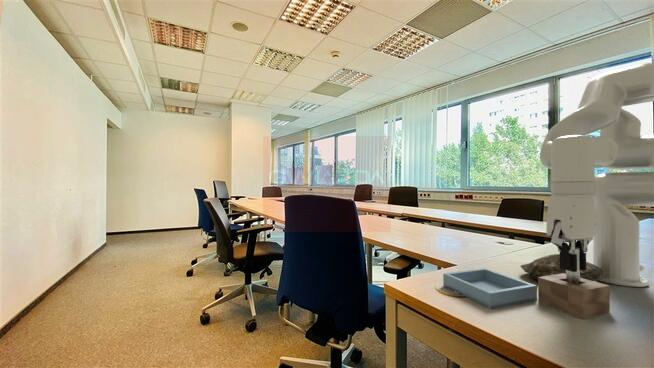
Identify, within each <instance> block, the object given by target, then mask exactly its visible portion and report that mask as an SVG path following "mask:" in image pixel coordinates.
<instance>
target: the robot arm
mask: <svg viewBox="0 0 654 368" xmlns="http://www.w3.org/2000/svg"><path fill="white" fill-rule="evenodd" d="M651 102H654V62H646V63H640V64H637V65H633V66H629V67H625V68H620V69H616V70H611V71H608V72H604V73H602V74H598V75H597V76H595V77H594V78H592V79H590V81H588V83H587V84H586V86H585V89H584V91H583V94H582V96H581V99H580V102H579V104H578V106H577V110H575V111H574V112H572V113H569V115H567V116H565V117H564V118H563V119H561V120H560V121H558V122H556V124H554V125H553V126H552V127H551V128H550V129H548V131H547V133H546V135H545V138H544V140H543V143H542V144H541V148H540V152H539V160H540V162H541V164H542V165H543V167H545V168H546V169H550V183H551V184H550V187H551V188H550V190H551V191H550V192H551V193H550V196H549V199H548V204H547V211H546V213H547V214H546V228H545V229H546V231H545V232H546V236H547V237H548V238H551V241H550V242H551V244H553V245H555V246H556V247H557V251H558V252H559V254H560V268H561V269H564V270H568V271H572V272H577V254H574V253H575V247H576V248H579V249H580V270H586V262H587V253H588V250H589V249H588V246H589V244H590V242H592V248H593V249H592V264H594V265H596V266H597V267H599V268H601V269H602V270H603V271H604V272H603V273H604V274H603V275H602V276H601V277H599V278H598V279H596V280H595V281H599V282H601V283H603V282H604V283H605V284H606V283H607V284H612V285H616V286H617V285H618V286H623V287H634V288H635V287H636V288H640V287H641V288H643V287H647V286H648V285H649V281H648V279H646V278H644V277H642V276H641V274H640V273H641V272H644V271H645V268H644V266H643V265H641V264H640V262H641V261H640V257H641V255H640V253H641V252H640V249H641V248H640V221H639V219H638V217H637V216H636V215H635V214H634V213H633V212H632V211H631V210H630V209H629V208H627V207H629V206H630V207H654V134H646V135H641V130H642V129H641V127H642V123H641V120H640V119H639V118H638V117H637V116H636V115H634V114H633V113H632V112H630V111H628V110H626V109H623V108H622V107H627V106H633V105H639V104H646V103H651ZM598 131H600V132H599V135H598V136H597V135H596V136H590V134H592V133H595V132H598ZM601 168H603V169H607V170H647V169H648V170H649V169H650V170H653V171H639V172H638V171H633V172H632V171H629V172H628V171H625V172H622V171H621V172H605V173H601V174H596V175H595V169H601Z"/></svg>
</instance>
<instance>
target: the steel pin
mask: <svg viewBox="0 0 654 368" xmlns="http://www.w3.org/2000/svg"><path fill="white" fill-rule="evenodd" d="M574 254H577V272H572V271H568V270H566V282H568V283H572V284H575V285H578V284H580V249H579V248H576V247H575V253H574Z"/></svg>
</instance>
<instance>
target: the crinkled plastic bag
mask: <svg viewBox="0 0 654 368" xmlns="http://www.w3.org/2000/svg"><path fill="white" fill-rule="evenodd" d="M520 268H521V269H522V270H523V271H524V273H527V276H528V278H530V279H533V280H536V281H538V277H543V276H549V275H556V274H562V273H564V274H566V270H564V269H561V268H560V253H556V254H555V253H554V254H549V255H545V256H541V257H539V258H536V259H533V261H531V262H528V263H525V264H521V265H520ZM603 272H604V271H603V270H602V269H601V268H599V267H597V266H596V265H594V264H593V263H591V262H589V261H586V270H580V278H583V279H587V280H590V281H594V282H595V281H597V280H596V279H598V278H599V277H601V276H602V275H603V274H604V273H603Z"/></svg>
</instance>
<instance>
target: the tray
mask: <svg viewBox="0 0 654 368" xmlns="http://www.w3.org/2000/svg"><path fill="white" fill-rule="evenodd" d="M442 274H443V275H442V277H443V278H442V279H443V285H442V286H443V287H444V288H446V287H447V289H449V290H450V291H453V292H455V291H456V292H455V293H457V292H458V293H457V294H459V293H460V294H459V295H461V294H462V295H461V296H463V297H465V298H467V299H470V300H472V301H473V302H475V303H478V304H480V305H481V306H484V307H486V308H487V309H497V308H501V307H502V308H503V307H507V306H513V305H517V304H523V303H527V302H533V301H538V286H537V285H536V284H534V283H530V282H527V281H524V280H522V279H519V278H515V277H513V276H509V275H506V274H502V273H501V272H497V271H494V270H491V269H488V268H486V267H484V268H483V267H482V268H477V269H475V268H474V269H469V270H468V269H467V270H462V271H461V270H460V271H453V272H444V273H442Z"/></svg>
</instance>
